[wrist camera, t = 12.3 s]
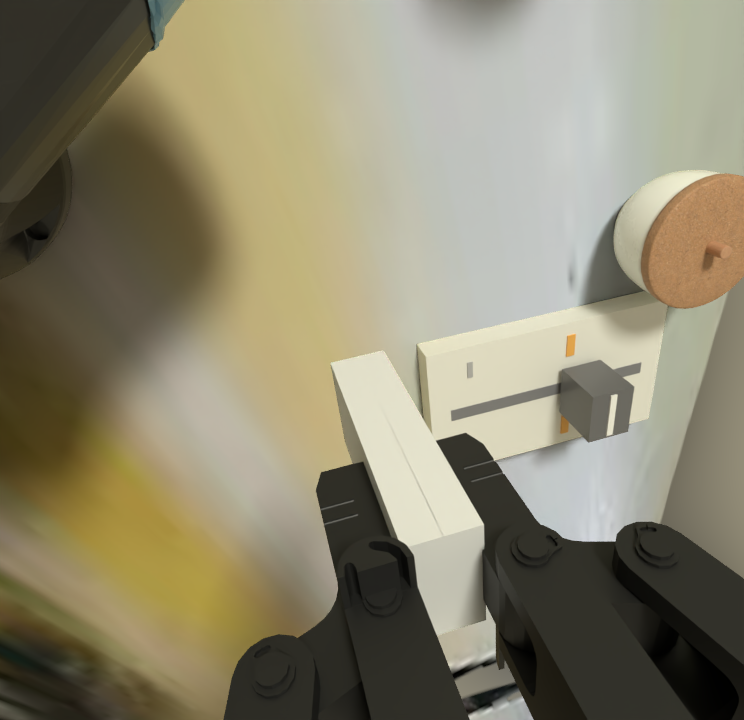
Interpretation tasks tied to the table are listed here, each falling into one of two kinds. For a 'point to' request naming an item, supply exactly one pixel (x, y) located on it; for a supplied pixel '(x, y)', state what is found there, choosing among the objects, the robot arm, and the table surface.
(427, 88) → the table surface
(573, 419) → the fader tab
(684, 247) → the lidded jar
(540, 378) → the console
